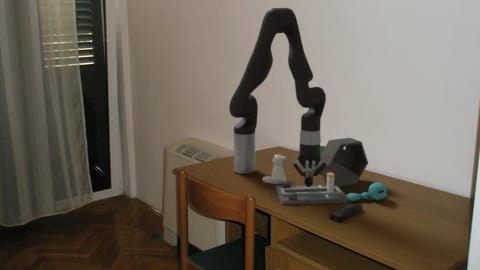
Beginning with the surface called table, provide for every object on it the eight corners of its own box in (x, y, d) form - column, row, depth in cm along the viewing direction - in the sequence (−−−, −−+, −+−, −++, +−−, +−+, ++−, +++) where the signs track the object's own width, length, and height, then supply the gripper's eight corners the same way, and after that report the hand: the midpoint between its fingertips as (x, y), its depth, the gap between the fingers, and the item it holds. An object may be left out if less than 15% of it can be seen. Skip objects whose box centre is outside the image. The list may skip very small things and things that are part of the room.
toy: (352, 210, 178) (392, 198, 177) (346, 192, 178) (387, 180, 178) (346, 207, 189) (384, 196, 189) (341, 191, 190) (379, 180, 189)
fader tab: (326, 188, 190) (326, 172, 188) (331, 188, 190) (332, 172, 189) (328, 191, 187) (328, 175, 185) (334, 191, 187) (334, 175, 185)
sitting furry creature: (279, 177, 210) (280, 149, 207) (293, 182, 203) (293, 154, 200) (261, 181, 205) (261, 153, 202) (274, 187, 198) (275, 158, 195)
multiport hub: (362, 211, 175) (362, 205, 174) (340, 223, 164) (340, 217, 164) (351, 208, 178) (351, 202, 177) (328, 220, 167) (329, 213, 167)
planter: (321, 178, 193) (347, 132, 194) (310, 172, 200) (335, 128, 201) (350, 195, 201) (375, 151, 202) (338, 189, 208) (363, 146, 209)
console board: (275, 189, 195) (275, 181, 194) (336, 187, 197) (336, 179, 196) (282, 204, 180) (282, 195, 179) (347, 202, 182) (348, 193, 181)
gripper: (325, 138, 188) (323, 182, 192) (290, 139, 187) (289, 183, 191) (330, 143, 180) (328, 189, 185) (294, 144, 179) (292, 190, 183)
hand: (308, 186), depth 188 cm, fingers closed
